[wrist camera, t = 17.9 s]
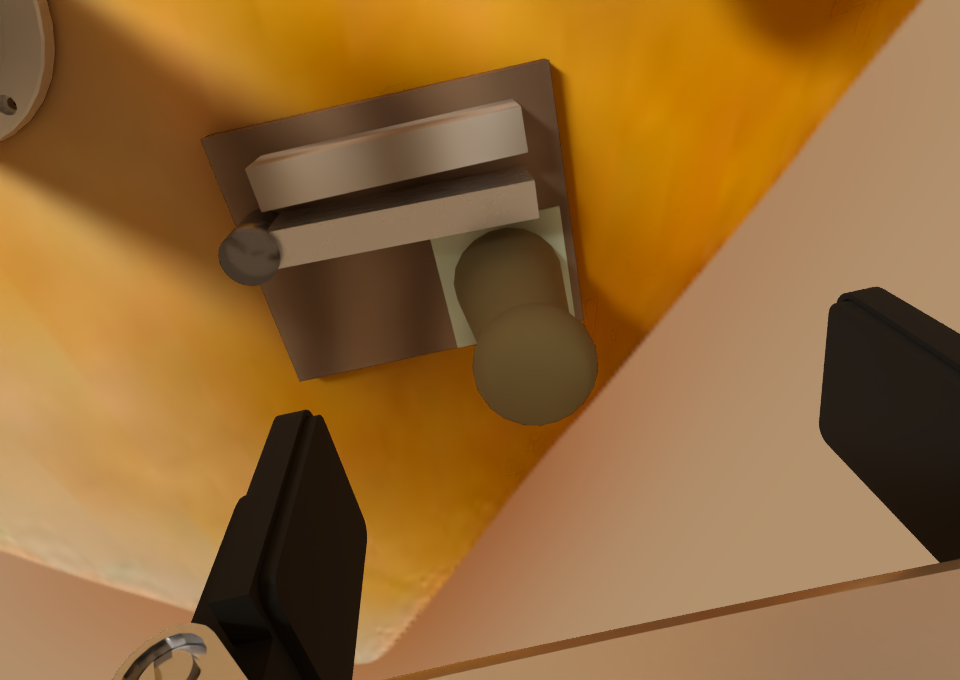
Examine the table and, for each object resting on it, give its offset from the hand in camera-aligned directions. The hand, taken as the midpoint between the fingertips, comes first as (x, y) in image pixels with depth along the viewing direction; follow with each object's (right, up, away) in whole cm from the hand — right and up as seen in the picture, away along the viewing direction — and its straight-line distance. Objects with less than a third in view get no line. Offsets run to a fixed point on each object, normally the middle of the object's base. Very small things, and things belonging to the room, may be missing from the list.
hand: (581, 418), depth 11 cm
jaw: (-7, +8, +20) cm, 22 cm away
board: (-6, +7, +22) cm, 24 cm away
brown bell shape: (0, +5, +23) cm, 23 cm away
